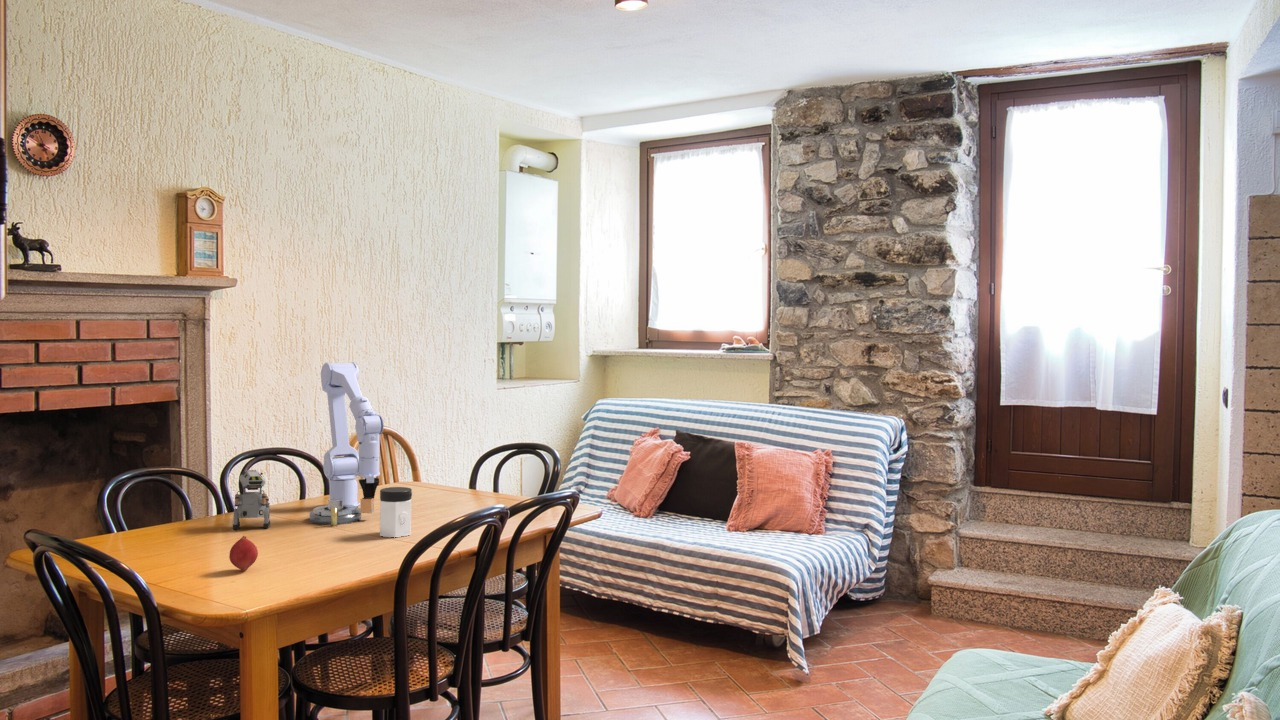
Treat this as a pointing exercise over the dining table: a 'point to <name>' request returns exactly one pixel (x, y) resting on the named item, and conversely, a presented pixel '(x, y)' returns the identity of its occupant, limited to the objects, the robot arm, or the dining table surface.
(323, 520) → the post base
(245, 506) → the figurine
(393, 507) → the jar
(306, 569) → the dining table surface
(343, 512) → the grey handled ring
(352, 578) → the dining table surface
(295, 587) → the dining table surface
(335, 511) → the dowel pin
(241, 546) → the onion
